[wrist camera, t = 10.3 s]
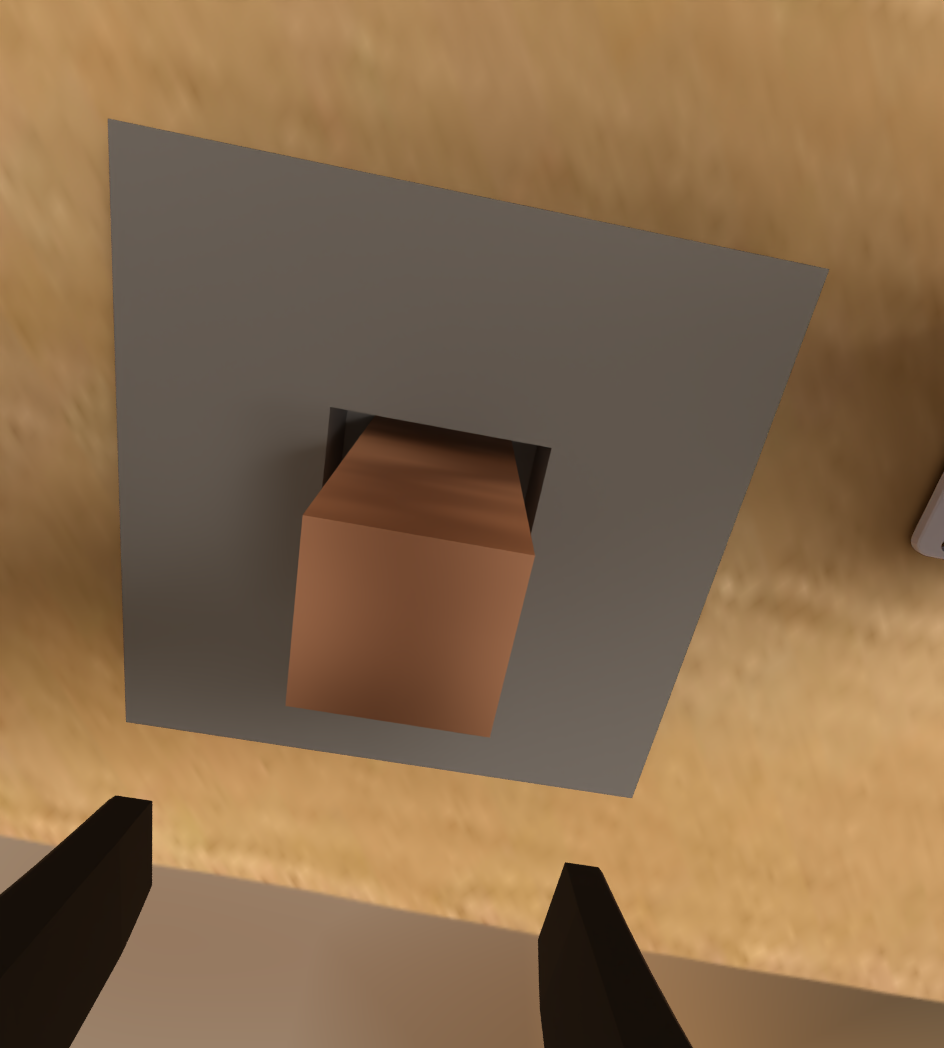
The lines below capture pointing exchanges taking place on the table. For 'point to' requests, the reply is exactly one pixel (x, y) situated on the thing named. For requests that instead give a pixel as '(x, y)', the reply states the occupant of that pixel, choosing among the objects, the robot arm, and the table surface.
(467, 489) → the square peg
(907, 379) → the table surface
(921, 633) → the table surface
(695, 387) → the socket block
